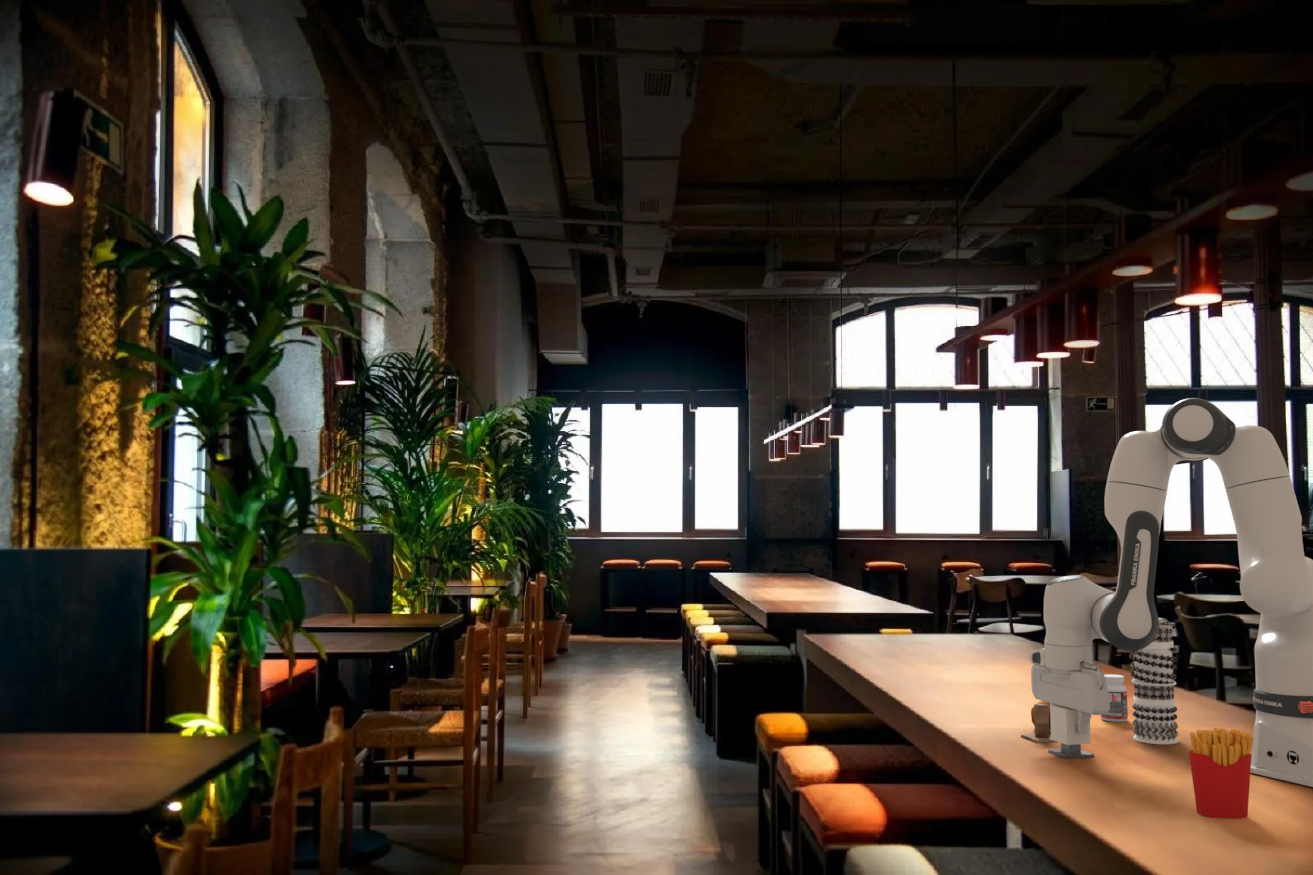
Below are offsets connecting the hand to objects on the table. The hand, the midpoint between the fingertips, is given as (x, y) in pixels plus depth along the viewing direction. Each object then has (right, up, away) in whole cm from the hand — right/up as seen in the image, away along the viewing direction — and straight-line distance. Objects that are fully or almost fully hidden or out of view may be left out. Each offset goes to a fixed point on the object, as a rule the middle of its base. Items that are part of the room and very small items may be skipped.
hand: (1070, 730), depth 214 cm
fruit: (+4, -6, +22) cm, 24 cm away
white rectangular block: (0, -2, 0) cm, 2 cm away
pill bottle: (+23, -7, +34) cm, 42 cm away
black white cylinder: (+22, -6, +13) cm, 26 cm away
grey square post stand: (0, -5, 0) cm, 5 cm away
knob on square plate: (-1, -6, +14) cm, 15 cm away
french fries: (+8, -2, -43) cm, 43 cm away
